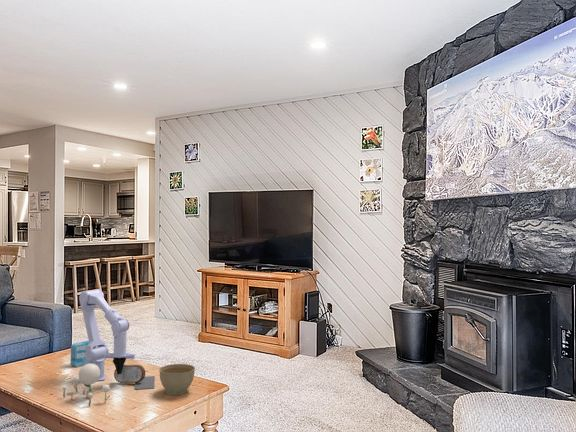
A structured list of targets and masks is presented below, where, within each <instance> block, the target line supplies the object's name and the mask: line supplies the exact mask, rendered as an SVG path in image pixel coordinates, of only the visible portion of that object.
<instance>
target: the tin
mask: <svg viewBox="0 0 576 432" xmlns="http://www.w3.org/2000/svg"><path fill="white" fill-rule="evenodd" d="M113 377H114V380H115V381H116V382H118V383H120V384H122V383H124V384H126V383H127V384H135V383H138V382H141V381H142V380H143V379H144V377H146V369H145V367H143V366H142V365H141V364H124V365H123V368H122V373H121V374H117V370H116V368H115V369H114V373H113Z"/></svg>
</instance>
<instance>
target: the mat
mask: <svg viewBox="0 0 576 432" xmlns="http://www.w3.org/2000/svg"><path fill="white" fill-rule="evenodd" d="M155 377H156V376H155V375H152V376H151V375H149V376H145V377H144V379H143V380H142V381H141V382H138V383H134V391H139V390H140V391H141V390H150V389H152V390H154V389H155Z"/></svg>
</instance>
